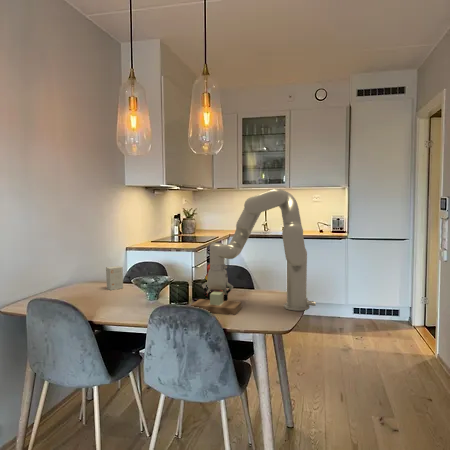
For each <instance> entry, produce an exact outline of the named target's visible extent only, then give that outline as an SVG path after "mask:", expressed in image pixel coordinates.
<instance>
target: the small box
mask: <svg viewBox="0 0 450 450" xmlns="http://www.w3.org/2000/svg"><path fill="white" fill-rule="evenodd" d="M105 274H106V276H105V277H106V280H105V281H106V289H107V290H109V291H114V290H119V289H124V273H123V266H121V265H115V266H107V267H105Z"/></svg>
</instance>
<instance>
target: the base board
mask: <svg viewBox="0 0 450 450" xmlns="http://www.w3.org/2000/svg"><path fill="white" fill-rule="evenodd" d="M191 306H194V307H199V308H203V309H206V310H208V311H210V312H212V313H211V314H217V313H221V315H229V314H233V315H232V316H235V315H236V314H237V313H238V312H239V311H240V310H241V309H242V301H233V300H232V301H231V300H227V301H223V303H222V304H221V305H213V304H210V300H208V299H204V298H198V299H197V300H196V301H194V302H193V303H192V304H190V307H191Z"/></svg>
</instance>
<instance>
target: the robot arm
mask: <svg viewBox="0 0 450 450" xmlns="http://www.w3.org/2000/svg"><path fill="white" fill-rule="evenodd" d="M243 206H244V207H243V210H242V212H241V214H240V216H239V218H238V219H237V222H236V225H235V227H236V229H235V232H234V234H233V236H232V237H231V240H230V242H229V243H227V244H224V243H220V242H215V243H211V244H210V245H209V264H210V270H209V272H208V271H207V273H208V279H207V282H205V283H204V282H203V284H201V287H202V288H203V290H204V291H206V293H207V295H206V297H207V299H208V300H210V294H211V292H210V291H211V290H212V289H213V290H223V292H224V301H229V300H228V299H229V298H228V297H229V293H230V292H231V291H232V290H233V288H234V285H232V284H231V283H229V280H228V279H229V278H228V271H227V268H228V265H226V262H225V259H228V260H233V259H235V258H237V256H239V255H240V254H241V252H242V250H243V249H244V247H245V246H246V244H247V241H248V239H249V237H250V235H251V233H252V231H253V229H254V227H255V225H256V223H257V222H258V219H259V217H260V215H261V214H262V213H264V212H267V211H269V210H272V209H274V208H280V211H281V217H282V224H283V229H282V231H281V232H282V233H281V234H282V241H283V248H284V249H283V251H284V254H285V255H284V256H285V260H286V302H285V303H284V304H283V308H284V309H286V310H289V311H293V312H294V311H295V312H297V311H298V312H304V311H307V310H309V309H310V306H311V307H312V306H313V307H315V306H316V301H314V300H309V298H308V297H307V277H308V276H307V272H308V270H307V269H308V251H307V249H306V245H305V239H304V238H305V237H304V229H303V226H302V220H301V215H300V209H299V206H298V202H297V199H296V198H295V197H294V196H293V195H292V194H291V193H290V192H288V191H286V190H284V189H281V188H274V189H270V190H267V191H264V192H262V193H259V194H257V195H254V196H249V198H247V199H246V200H245V202H244V205H243ZM206 285H207V287H208V288H207V287H206Z"/></svg>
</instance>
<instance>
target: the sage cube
mask: <svg viewBox="0 0 450 450" xmlns="http://www.w3.org/2000/svg"><path fill="white" fill-rule="evenodd" d="M222 303H223V292H212V293H211V294H210V304H213V305H221V304H222Z"/></svg>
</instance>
